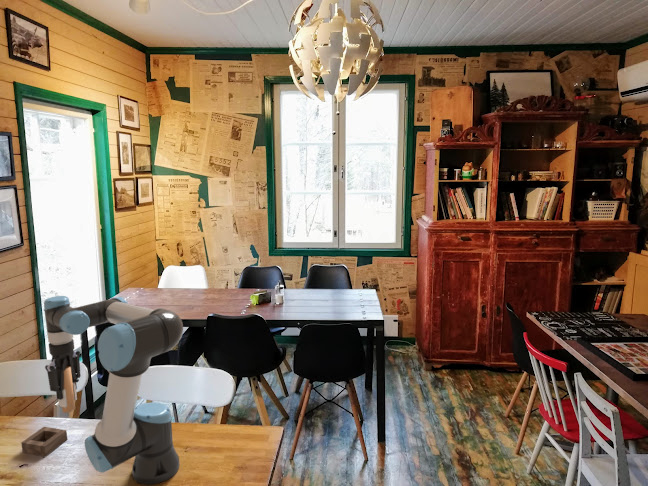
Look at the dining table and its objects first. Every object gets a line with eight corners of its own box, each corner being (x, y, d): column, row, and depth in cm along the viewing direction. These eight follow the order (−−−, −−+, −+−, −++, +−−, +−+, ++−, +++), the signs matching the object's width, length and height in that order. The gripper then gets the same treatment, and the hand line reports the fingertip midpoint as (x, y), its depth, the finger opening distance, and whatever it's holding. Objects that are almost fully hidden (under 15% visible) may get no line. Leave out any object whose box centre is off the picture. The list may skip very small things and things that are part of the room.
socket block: (67, 439, 172) (66, 430, 171) (46, 456, 162) (44, 446, 161) (45, 436, 174) (43, 426, 173) (22, 452, 164) (21, 442, 164)
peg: (77, 407, 164) (73, 365, 161) (69, 413, 160) (64, 371, 157) (68, 406, 164) (63, 364, 161) (59, 412, 161) (54, 369, 158)
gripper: (70, 330, 166) (76, 389, 171) (31, 349, 150) (39, 414, 154) (88, 332, 165) (94, 392, 169) (50, 351, 148) (58, 417, 153)
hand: (68, 402), depth 162 cm, fingers closed on peg, 4 cm apart
